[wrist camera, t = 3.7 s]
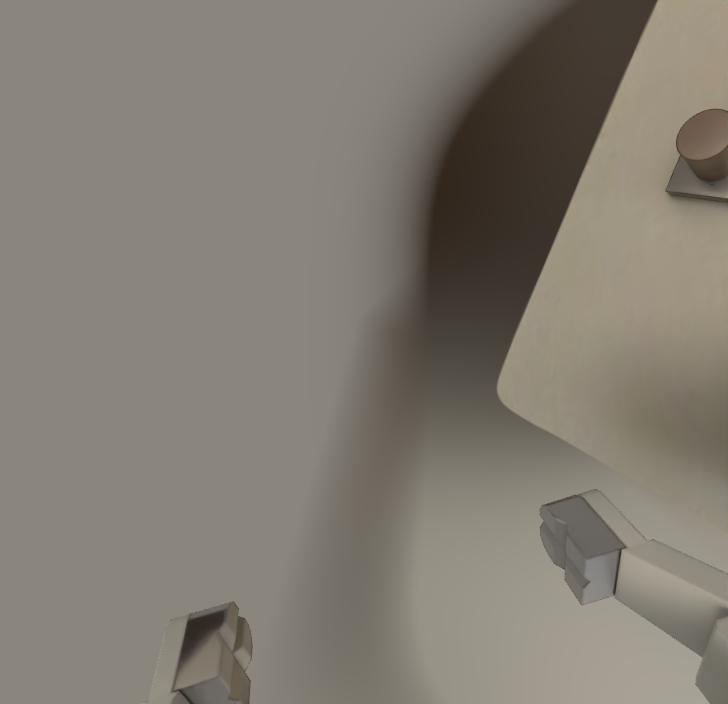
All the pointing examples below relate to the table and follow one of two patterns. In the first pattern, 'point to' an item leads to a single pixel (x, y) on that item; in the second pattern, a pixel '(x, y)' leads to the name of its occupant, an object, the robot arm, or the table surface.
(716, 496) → the table surface
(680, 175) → the brush
